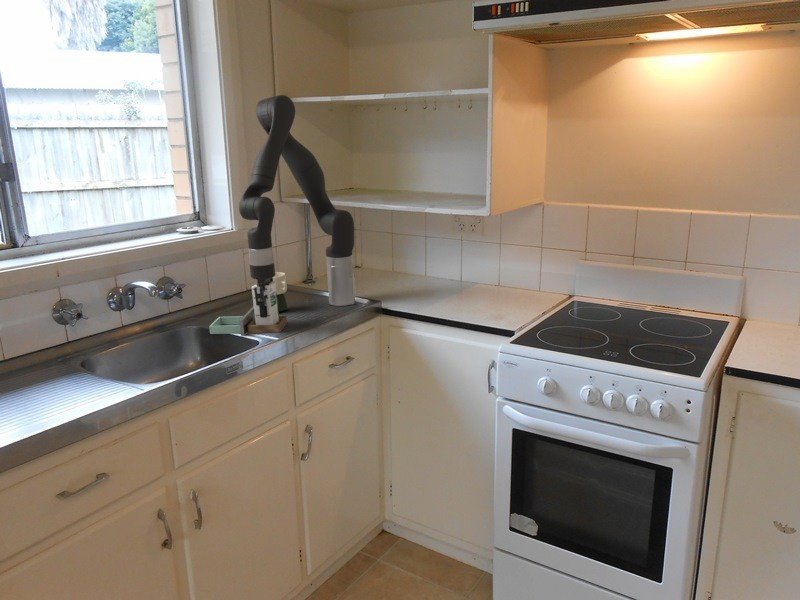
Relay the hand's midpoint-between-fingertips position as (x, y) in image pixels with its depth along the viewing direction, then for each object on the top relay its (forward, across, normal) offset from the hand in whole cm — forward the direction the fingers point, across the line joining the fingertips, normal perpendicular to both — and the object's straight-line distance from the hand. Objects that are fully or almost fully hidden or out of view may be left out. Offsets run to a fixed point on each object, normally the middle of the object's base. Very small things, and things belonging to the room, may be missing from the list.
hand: (266, 313), depth 197 cm
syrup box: (+5, 0, 0) cm, 5 cm away
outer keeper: (+5, 0, +12) cm, 13 cm away
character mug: (+5, +18, +1) cm, 19 cm away
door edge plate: (+5, 0, +6) cm, 8 cm away
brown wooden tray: (+5, 0, 0) cm, 5 cm away
